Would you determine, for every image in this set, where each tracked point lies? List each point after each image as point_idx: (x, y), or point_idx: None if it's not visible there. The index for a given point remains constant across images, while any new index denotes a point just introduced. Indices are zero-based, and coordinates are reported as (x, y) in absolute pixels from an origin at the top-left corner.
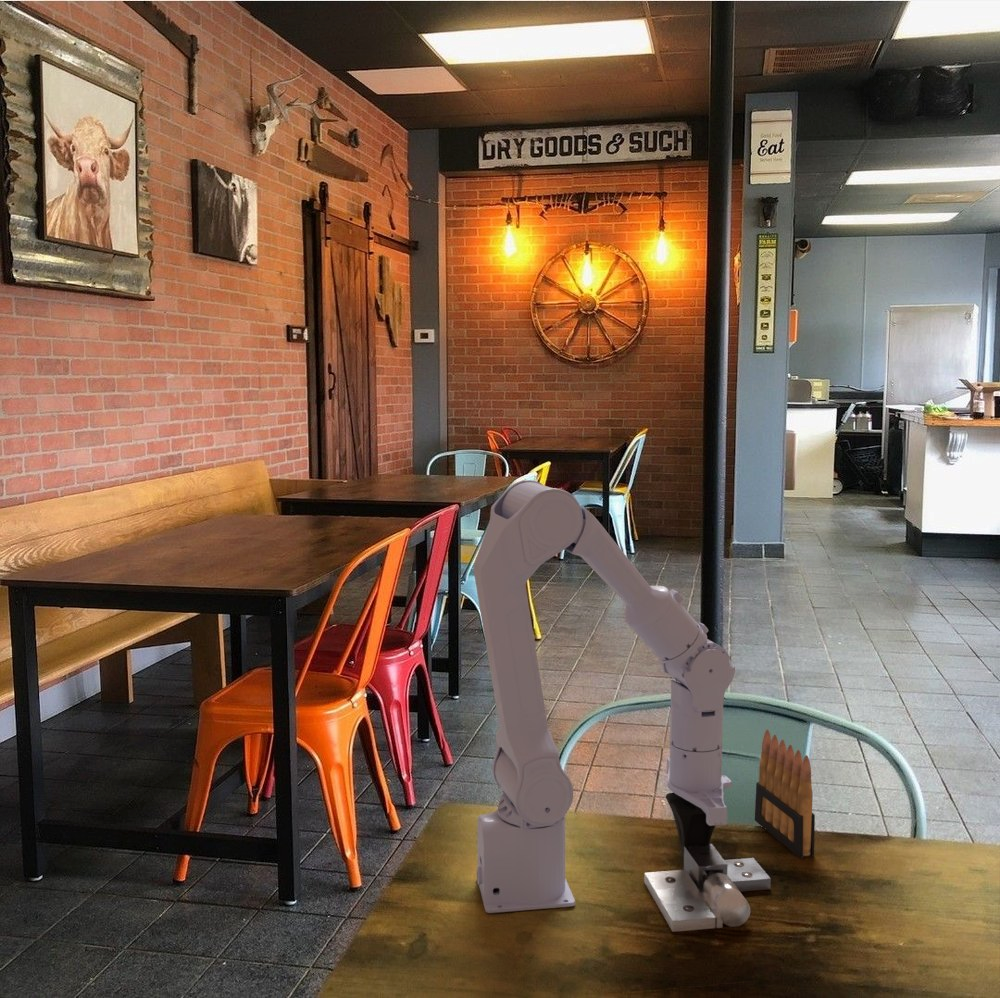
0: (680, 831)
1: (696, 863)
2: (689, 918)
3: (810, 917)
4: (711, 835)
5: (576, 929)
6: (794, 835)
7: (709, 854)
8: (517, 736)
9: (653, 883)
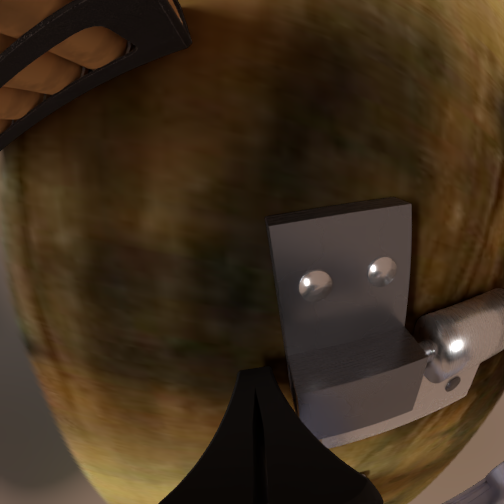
0: (266, 469)
1: (396, 415)
2: (472, 378)
3: (488, 146)
4: (296, 417)
5: (405, 458)
6: (130, 39)
7: (363, 398)
8: None
9: (364, 436)
